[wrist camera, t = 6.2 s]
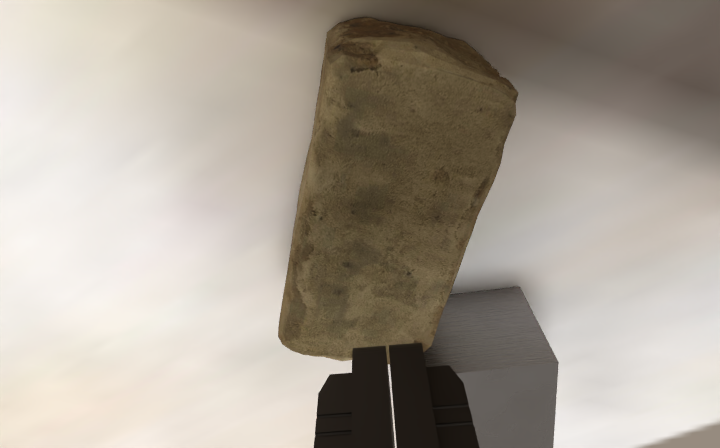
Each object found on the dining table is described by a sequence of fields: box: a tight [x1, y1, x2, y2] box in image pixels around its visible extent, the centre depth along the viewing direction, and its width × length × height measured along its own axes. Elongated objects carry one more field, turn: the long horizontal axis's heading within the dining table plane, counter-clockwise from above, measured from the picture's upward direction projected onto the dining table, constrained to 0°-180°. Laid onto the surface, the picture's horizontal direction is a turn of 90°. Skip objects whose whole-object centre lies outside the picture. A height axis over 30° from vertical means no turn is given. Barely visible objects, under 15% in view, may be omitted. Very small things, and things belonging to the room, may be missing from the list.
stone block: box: [278, 17, 518, 364], centre depth 19 cm, size 6×12×5 cm, turn 169°
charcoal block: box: [424, 287, 558, 448], centre depth 23 cm, size 5×5×5 cm
